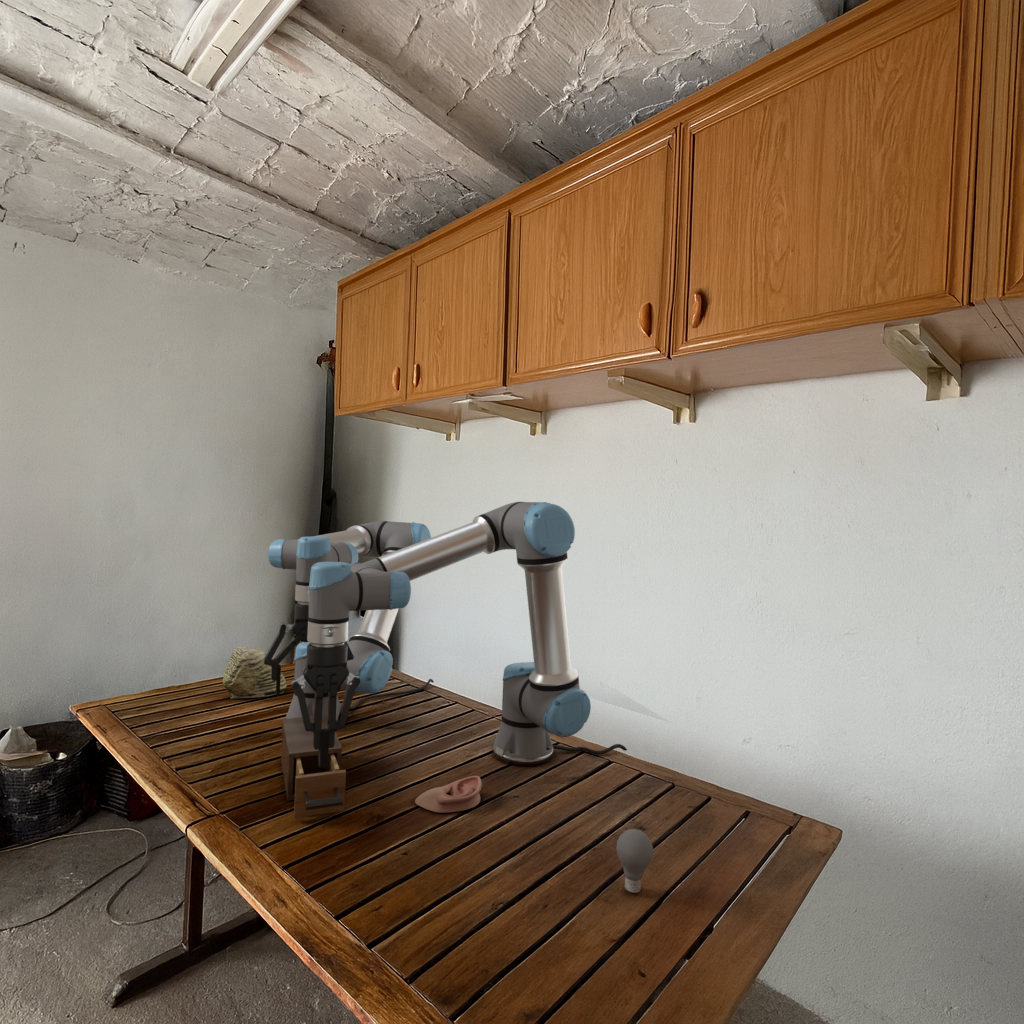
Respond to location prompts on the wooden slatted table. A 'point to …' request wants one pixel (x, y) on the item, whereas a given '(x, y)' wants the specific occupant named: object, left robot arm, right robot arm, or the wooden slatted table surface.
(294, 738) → the cabinet
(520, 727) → the right robot arm
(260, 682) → the fossil
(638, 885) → the light bulb
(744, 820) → the wooden slatted table surface
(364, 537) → the left robot arm
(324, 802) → the drawer
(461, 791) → the anatomical model
